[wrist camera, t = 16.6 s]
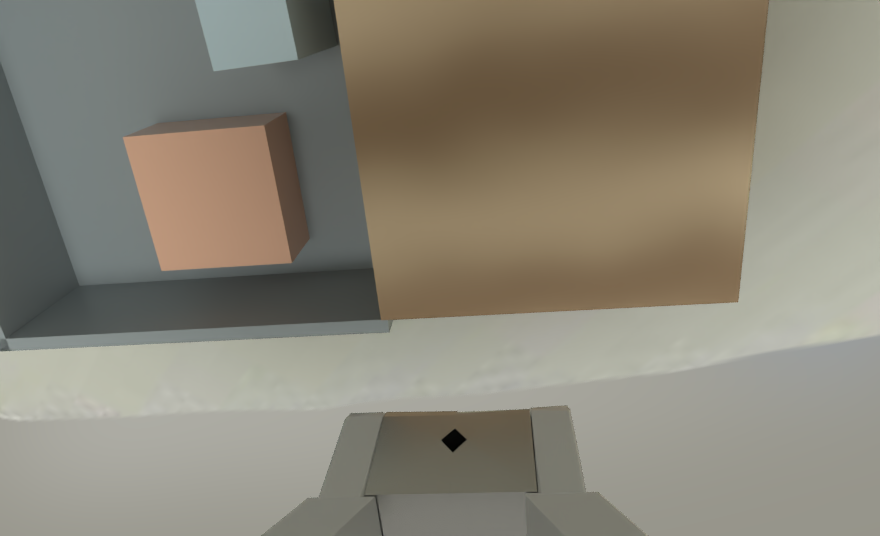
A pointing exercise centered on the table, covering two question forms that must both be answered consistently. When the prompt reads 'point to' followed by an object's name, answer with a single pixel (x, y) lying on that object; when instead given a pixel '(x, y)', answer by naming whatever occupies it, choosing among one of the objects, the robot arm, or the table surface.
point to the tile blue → (264, 30)
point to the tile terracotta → (220, 191)
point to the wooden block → (553, 150)
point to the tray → (116, 194)
